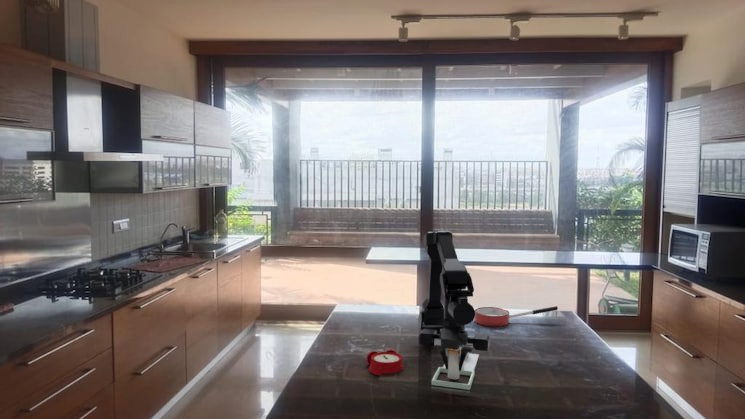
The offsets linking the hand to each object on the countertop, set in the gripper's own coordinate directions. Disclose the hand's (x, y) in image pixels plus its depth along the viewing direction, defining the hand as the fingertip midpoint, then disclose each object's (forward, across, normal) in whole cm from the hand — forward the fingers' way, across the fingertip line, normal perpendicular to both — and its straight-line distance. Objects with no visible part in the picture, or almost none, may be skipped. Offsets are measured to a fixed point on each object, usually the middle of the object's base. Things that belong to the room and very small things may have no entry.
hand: (453, 369), depth 142 cm
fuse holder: (+4, 0, +14) cm, 15 cm away
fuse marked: (+2, 0, 0) cm, 2 cm away
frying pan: (+4, +13, +68) cm, 69 cm away
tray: (+4, 0, 0) cm, 4 cm away
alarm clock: (+4, -21, +5) cm, 22 cm away
